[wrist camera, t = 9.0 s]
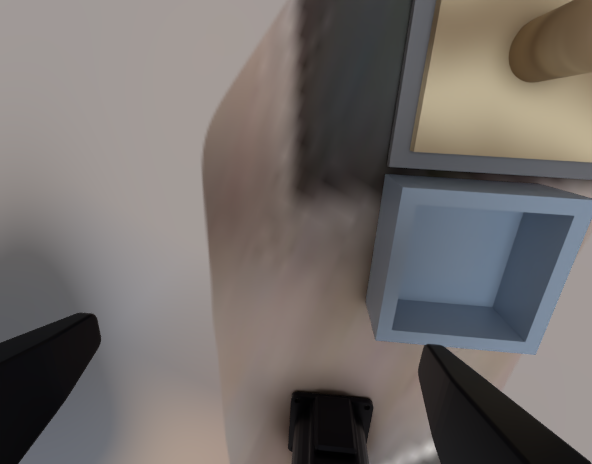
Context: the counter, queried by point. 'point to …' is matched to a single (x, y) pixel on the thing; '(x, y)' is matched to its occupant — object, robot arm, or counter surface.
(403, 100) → the mat
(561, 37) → the lid
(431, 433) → the robot arm
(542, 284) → the dish
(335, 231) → the counter surface
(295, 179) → the counter surface
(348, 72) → the counter surface
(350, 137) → the counter surface
